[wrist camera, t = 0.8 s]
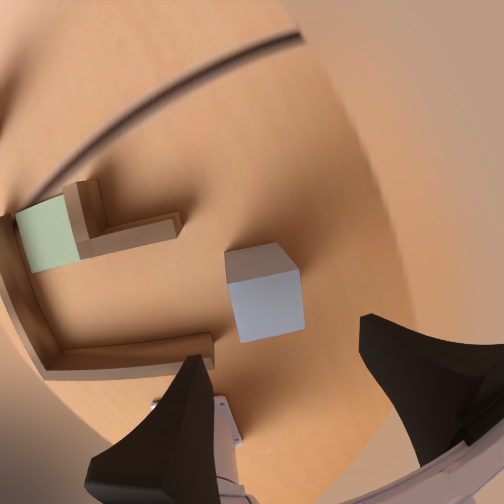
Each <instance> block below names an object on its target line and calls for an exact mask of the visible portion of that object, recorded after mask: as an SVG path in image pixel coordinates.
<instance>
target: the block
mask: <svg viewBox="0 0 504 504" xmlns="http://www.w3.org/2000/svg"><path fill="white" fill-rule="evenodd" d="M224 257H225V268H226V278H227V286H228V291H229V295H230V299H231V304H232V308H233V312H234V317H235V321H236V325H237V330H238V334H239V338H240V342H241V343H246V342H250V341H255V340H260V339H265V338H269V337H274V336H278V335H283V334H287V333H291V332H295V331H299V330H303V329H305V321H304V311H303V301H302V291H301V282H300V273H299V268H298V267H297V266H296V265H295V264H294V262H293V261H292V260H291V259H290V257H289V256H288V255H287V254H286V252H285V251H284V250H283V249H282V248H281V246H280V245H279V244H278V243H277V242H273V243H268V244H263V245H258V246H253V247H248V248H243V249H238V250H233V251H228V252H224Z"/></svg>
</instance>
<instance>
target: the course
mask: <svg viewBox="0 0 504 504" xmlns="http://www.w3.org/2000/svg"><path fill="white" fill-rule="evenodd" d="M62 190H63V195H64V200H65V204H66V209H67V213H68V217H69V221H70V225H71V229H72V233H73V236H74V240H75V244H76V247H77V250H78V254H79V257H80V260H83V259H87V258H92V257H96V256H100V255H104V254H108V253H113V252H117V251H121V250H126V249H130V248H134V247H139V246H143V245H148V244H152V243H157V242H161V241H166V240H171V239H175V238H177V237H178V235H179V234H180V232H181V230H182V228H183V222H182V218H181V213H180V211H175V212H171V213H166V214H162V215H158V216H154V217H149V218H145V219H141V220H137V221H133V222H129V223H125V224H121V225H117V226H113V227H109V228H108V224H107V220H106V216H105V212H104V208H103V204H102V199H101V194H100V190H99V185H98V180H97V179H95V180H87V181H79V182H75V183H72V184H69V185H67V186H64V187H62ZM0 295H1V298H2V300H3V302H4V305H5V307H6V310H7V312H8V314H9V316H10V319H11V321H12V323H13V325H14V327H15V329H16V331H17V333H18V335H19V337H20V339H21V341H22V343H23V345H24V347H25V349H26V351H27V352H28V354H29V356H30V358H31V360H32V361H33V363H34V365H35V366H36V368H37V370H38V371H39V373H40V375H41V376H42V378H43V379H44V380H52V381H99V380H122V379H137V378H149V377H159V376H168V375H177V373H178V371H179V370H180V368H181V366H182V364H183V362H184V361H185V359H186V357H187V356H191V355H198V354H201V356H202V359H203V361H204V364H205V367H206V370H213V369H215V367H214V341H213V338H212V334H211V332H207V333H201V334H195V335H189V336H183V337H176V338H170V339H163V340H156V341H148V342H141V343H132V344H124V345H115V346H105V347H94V348H82V349H68V350H60V349H59V347H58V345H57V343H56V341H55V339H54V337H53V335H52V333H51V331H50V329H49V327H48V325H47V322H46V320H45V318H44V316H43V314H42V311H41V309H40V307H39V304H38V302H37V299H36V297H35V294H34V292H33V289H32V287H31V284H30V281H29V278H28V276H27V273H26V270H25V267H24V264H23V261H22V257H21V254H20V251H19V247H18V244H17V240H16V237H15V233H14V229H13V225H12V220H11V216H10V214H7V215H4V216H1V217H0Z"/></svg>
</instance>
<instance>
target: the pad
mask: <svg viewBox="0 0 504 504" xmlns="http://www.w3.org/2000/svg"><path fill="white" fill-rule="evenodd" d="M15 215H16V220H17V224H18V228H19V232H20V236H21V240H22V243H23V247H24V250H25V254H26V257H27V260H28V263H29V266H30V269H31V272H32V273H35V272H39V271H43V270H47V269H51V268H55V267H59V266H63V265H67V264H71V263H75V262H79V261H83V260H87V259H91V258H87V259H83V260H80V257H79V254H78V250H77V247H76V244H75V240H74V236H73V233H72V229H71V225H70V221H69V217H68V213H67V209H66V204H65V200H64V195H63V194H62V195H60V196H57V197H55V198H52V199H49V200H47V201H44V202H42V203H39V204H37V205H35V206H32V207H30V208H28V209H25V210H23V211H21V212H18V213H16V214H15Z"/></svg>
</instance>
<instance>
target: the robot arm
mask: <svg viewBox="0 0 504 504" xmlns="http://www.w3.org/2000/svg"><path fill="white" fill-rule="evenodd" d="M359 353H360V355H361V357H362V359H363V361H364V363H365V365H366V367H367V368H368V370H369V371H370V373H371V374H372V375H373V377H374V378H375V380H376V381H377V382H378V384H379V385H380V386H381V388H382V389H383V391H384V392H385V393H386V395H387V396H388V397H389V399H390V400H391V402H392V404H393V405H394V407H395V409H396V411H397V412H398V414H399V416H400V418H401V420H402V422H403V424H404V426H405V428H406V431H407V433H408V435H409V437H410V440H411V442H412V445H413V447H414V449H415V452H416V455H417V458H418V461H419V464H420V467H421V468H419V469H418V470H416V471H414V472H412V473H410V474H408V475H406V476H404V477H402V478H401V479H399V480H396V481H394V482H392V483H390V484H388V485H386V486H384V487H381V488H379V489H377V490H374V491H372V492H370V493H367V494H365V495H362V496H360V497H357V498H354V499H351V500H349V501H346V502H343V503H340V504H477V503H476V501H475V500H474V498H473V497H472V496H473V495H474V494H475V493H477V492H478V491H479V490H480V489H481V488H483V487H484V486H485V485H486V484H487V483H489V482H490V481H491V480H492V479H493V478H494V477H495V476H496V475H497V474H498V473H500V472H501V471H502V470H503V469H504V344H495V345H473V344H463V343H456V342H450V341H445V340H440V339H437V338H433V337H430V336H426V335H424V334H421V333H418V332H415V331H413V330H410V329H407V328H405V327H403V326H400V325H398V324H396V323H393V322H391V321H389V320H387V319H384V318H382V317H380V316H377V315H375V314H372V313H371V314H368V315H365V316H362V317H360V333H359ZM151 409H152V411H151V412H150V414H149V415H148V416H147V417H146V418H145V419H144V420H143V421H142V422H141V423H140V424H139V425H138V426H137V427H136V428H135V429H134V430H132V431H131V432H130V433H129V434H128V435H127V436H125V437H124V438H123V439H122V440H120V441H119V442H118V443H116V444H115V445H113V446H112V447H111V448H109V449H107V450H106V451H104V452H102V453H100V454H99V455H97V456H95V457H93V458H92V459H91V462H90V465H89V468H88V472H87V475H86V479H85V483H84V487H85V489H86V490H87V492H88V493H89V494H91V495H92V496H93V497H94V498H96V499H97V500H98V501H100V502H101V503H103V504H260V503H259V502H258V501H257V500H256V499H255V498H254V497H253V496H252V495H249V494H245V489H244V485H239V479H238V471H237V463H236V454H235V446H240V445H242V444H243V442H242V439H241V436H240V434H239V431H238V429H237V426H236V424H235V421H234V418H233V416H232V413H231V410H230V408H229V405H228V402H227V399H226V397H225V396H222V395H220V396H214V394H213V386H212V383H211V381H210V378H209V375H208V373H207V370H206V367H205V364H204V361H203V359H202V356H201V354H198V355H191V356H187V357H186V359H185V361H184V362H183V364H182V366H181V368H180V370H179V371H178V373H177V375H176V377H175V378H174V380H173V381H172V383H171V385H170V386H169V388H168V389H167V391H166V392H165V394H164V395H163V397H162V398H161V400H160V401H159V402H157V403H152V404H151Z"/></svg>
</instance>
